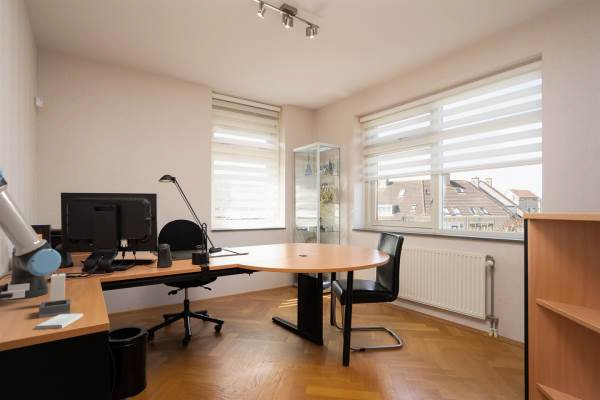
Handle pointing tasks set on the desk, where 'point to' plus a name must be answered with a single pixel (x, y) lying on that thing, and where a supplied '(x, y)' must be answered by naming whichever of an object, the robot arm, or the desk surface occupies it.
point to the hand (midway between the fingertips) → (27, 290)
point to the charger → (57, 287)
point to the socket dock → (54, 308)
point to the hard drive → (59, 321)
